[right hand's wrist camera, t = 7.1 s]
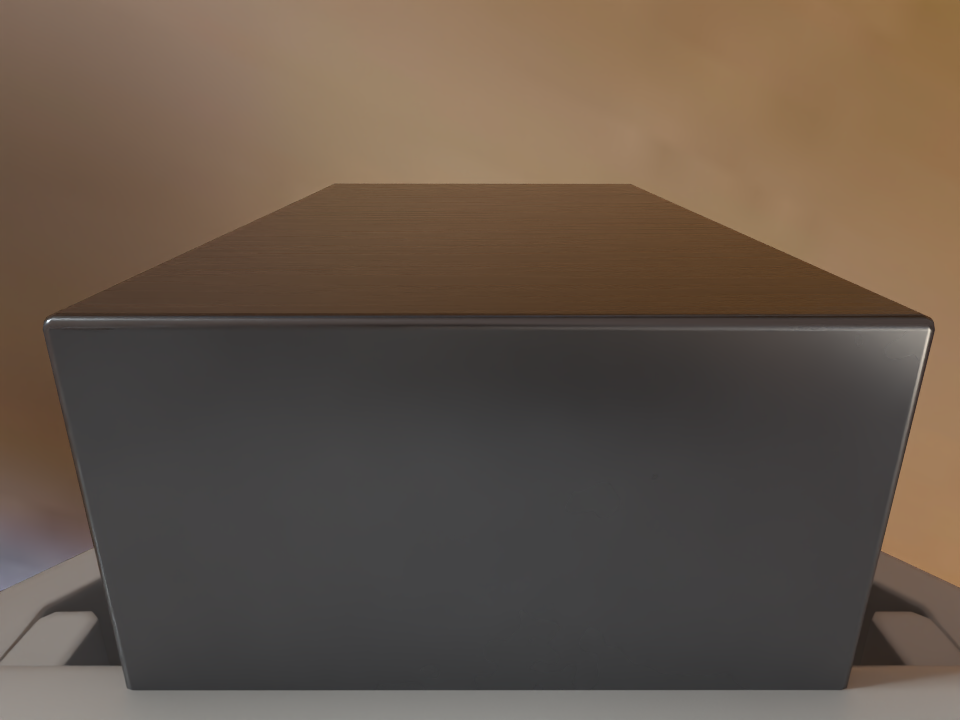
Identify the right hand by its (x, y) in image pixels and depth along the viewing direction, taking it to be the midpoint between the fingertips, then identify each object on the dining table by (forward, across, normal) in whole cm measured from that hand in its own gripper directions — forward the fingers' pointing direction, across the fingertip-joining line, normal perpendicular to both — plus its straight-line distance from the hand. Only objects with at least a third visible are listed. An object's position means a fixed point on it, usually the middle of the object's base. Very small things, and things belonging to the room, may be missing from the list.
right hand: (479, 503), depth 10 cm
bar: (+3, 0, +9) cm, 10 cm away
